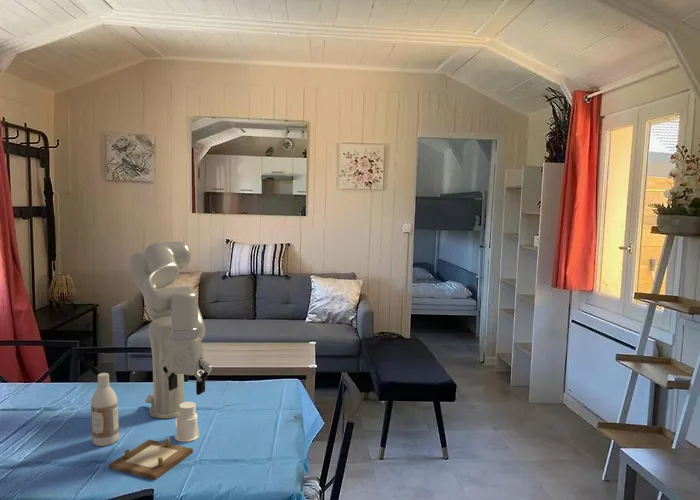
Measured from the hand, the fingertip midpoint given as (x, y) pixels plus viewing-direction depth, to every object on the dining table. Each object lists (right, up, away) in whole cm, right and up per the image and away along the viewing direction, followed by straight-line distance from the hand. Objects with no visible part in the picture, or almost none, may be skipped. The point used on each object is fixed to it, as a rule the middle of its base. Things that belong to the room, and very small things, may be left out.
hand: (186, 391), depth 155 cm
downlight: (0, -14, +2) cm, 14 cm away
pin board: (-6, -16, -12) cm, 20 cm away
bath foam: (-23, -14, -1) cm, 27 cm away
